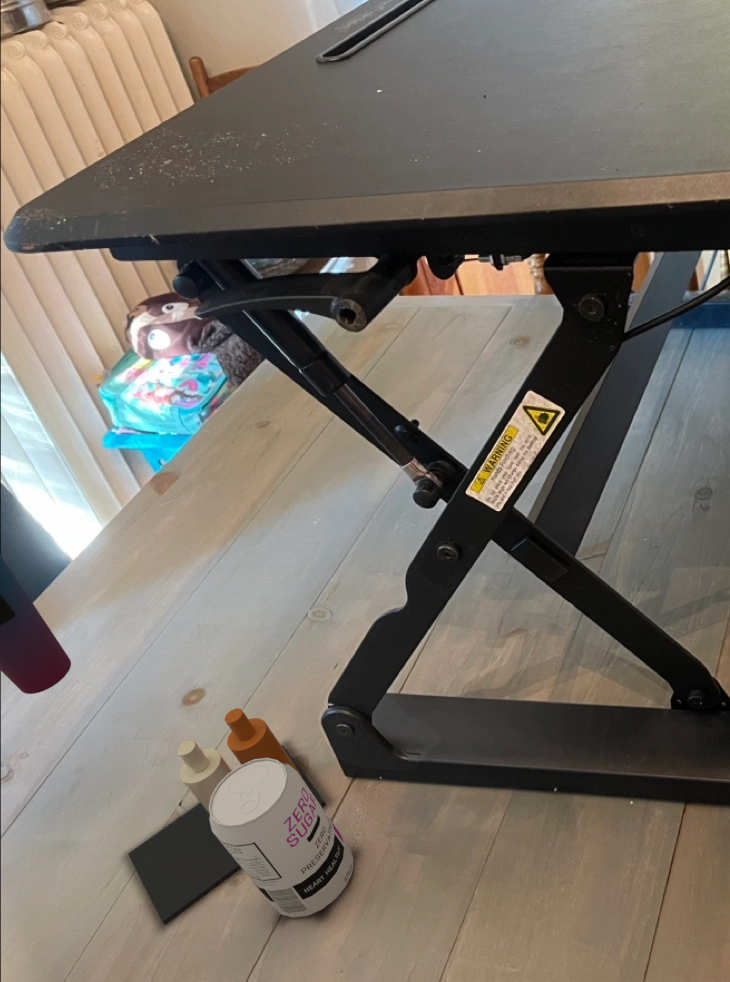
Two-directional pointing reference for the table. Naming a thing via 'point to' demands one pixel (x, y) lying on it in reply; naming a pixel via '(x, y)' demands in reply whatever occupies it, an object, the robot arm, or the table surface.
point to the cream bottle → (202, 770)
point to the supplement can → (280, 836)
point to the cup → (28, 641)
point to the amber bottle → (253, 739)
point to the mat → (186, 860)
